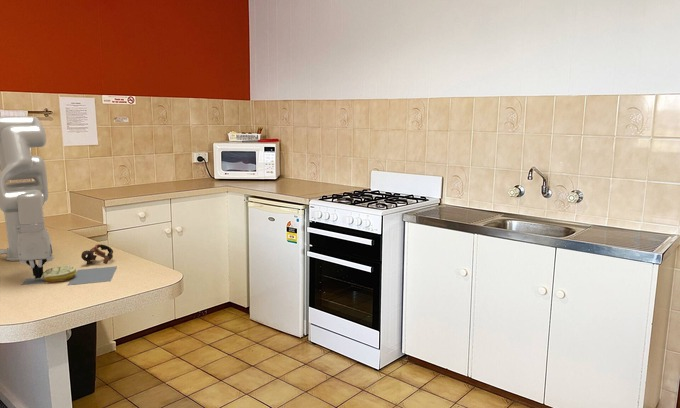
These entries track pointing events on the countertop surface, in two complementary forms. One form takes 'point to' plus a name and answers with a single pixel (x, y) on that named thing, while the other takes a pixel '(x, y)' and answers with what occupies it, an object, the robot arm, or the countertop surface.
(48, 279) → the decorated donut
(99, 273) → the t mat
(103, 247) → the pottery mug
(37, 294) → the countertop surface
